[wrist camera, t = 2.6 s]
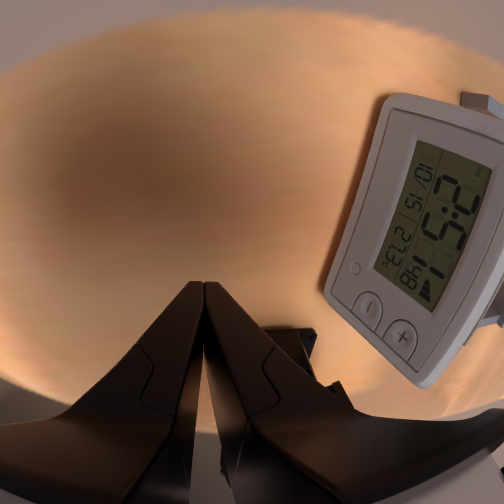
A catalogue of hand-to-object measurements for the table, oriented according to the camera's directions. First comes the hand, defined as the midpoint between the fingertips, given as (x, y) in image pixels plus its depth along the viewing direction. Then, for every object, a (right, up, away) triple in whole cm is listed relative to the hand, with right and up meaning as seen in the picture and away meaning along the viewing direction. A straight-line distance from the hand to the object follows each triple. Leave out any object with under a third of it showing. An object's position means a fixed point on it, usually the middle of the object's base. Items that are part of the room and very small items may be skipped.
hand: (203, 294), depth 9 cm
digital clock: (+11, +5, +12) cm, 16 cm away
